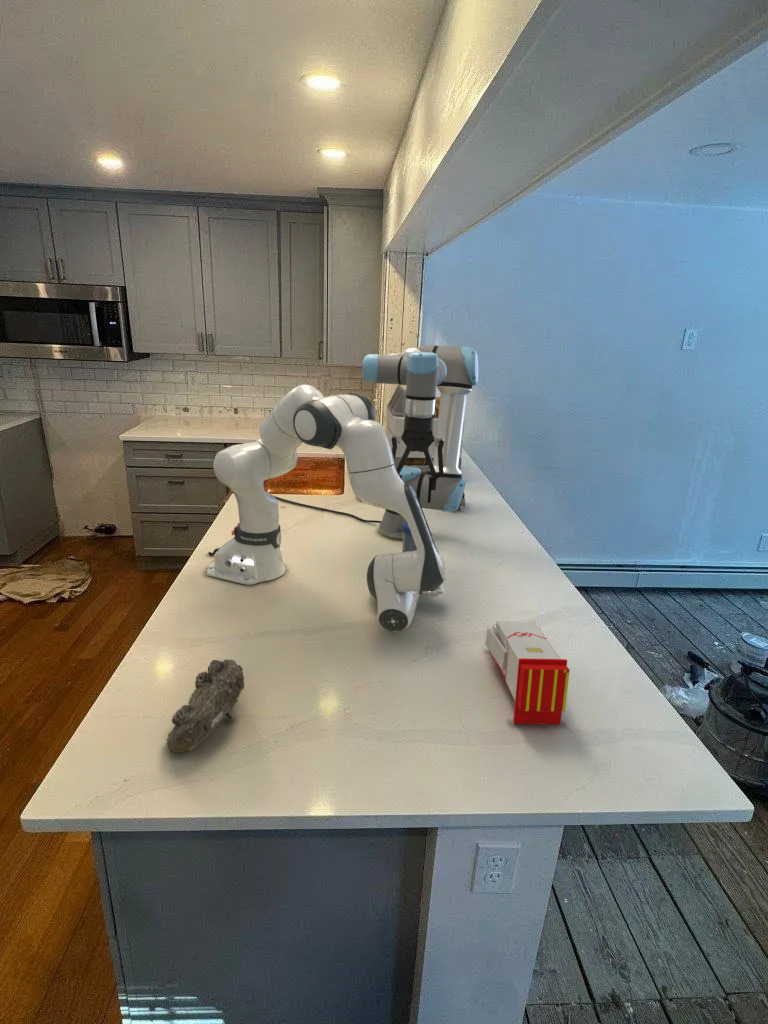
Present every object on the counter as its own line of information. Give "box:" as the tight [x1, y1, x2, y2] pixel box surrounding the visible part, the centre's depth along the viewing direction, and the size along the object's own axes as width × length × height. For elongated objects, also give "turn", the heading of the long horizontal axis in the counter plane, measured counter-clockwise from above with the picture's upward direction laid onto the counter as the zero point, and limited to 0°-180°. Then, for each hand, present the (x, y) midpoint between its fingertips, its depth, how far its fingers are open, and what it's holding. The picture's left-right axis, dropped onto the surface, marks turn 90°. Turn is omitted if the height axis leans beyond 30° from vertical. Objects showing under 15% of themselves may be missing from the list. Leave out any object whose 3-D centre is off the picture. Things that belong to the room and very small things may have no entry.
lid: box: [402, 522, 412, 535], centre depth 155 cm, size 5×5×2 cm
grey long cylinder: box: [401, 532, 417, 552], centre depth 158 cm, size 5×5×19 cm
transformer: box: [385, 384, 465, 472], centre depth 268 cm, size 34×33×41 cm
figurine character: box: [457, 492, 466, 511], centre depth 229 cm, size 7×8×15 cm
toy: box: [485, 620, 570, 725], centre depth 121 cm, size 12×13×30 cm
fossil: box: [166, 658, 245, 754], centre depth 106 cm, size 22×10×15 cm
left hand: (409, 568), depth 160 cm, fingers closed on grey long cylinder, 5 cm apart
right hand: (413, 500), depth 152 cm, fingers open, 7 cm apart
